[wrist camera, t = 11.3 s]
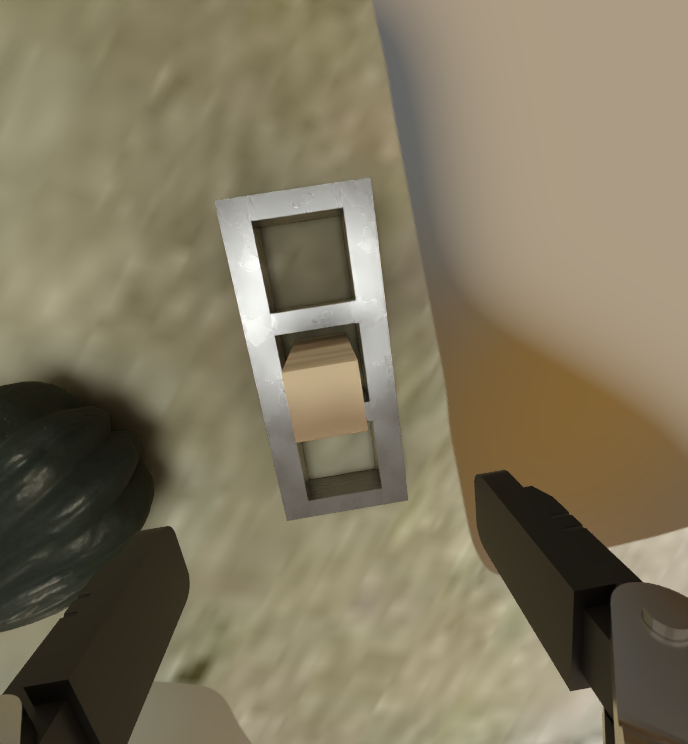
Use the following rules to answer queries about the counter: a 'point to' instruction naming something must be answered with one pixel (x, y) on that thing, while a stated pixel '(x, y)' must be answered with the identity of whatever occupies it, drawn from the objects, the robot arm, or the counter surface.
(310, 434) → the square peg
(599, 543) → the robot arm
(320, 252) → the counter surface
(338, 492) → the gray slotted tray
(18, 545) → the squash
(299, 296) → the counter surface
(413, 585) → the counter surface
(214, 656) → the counter surface
